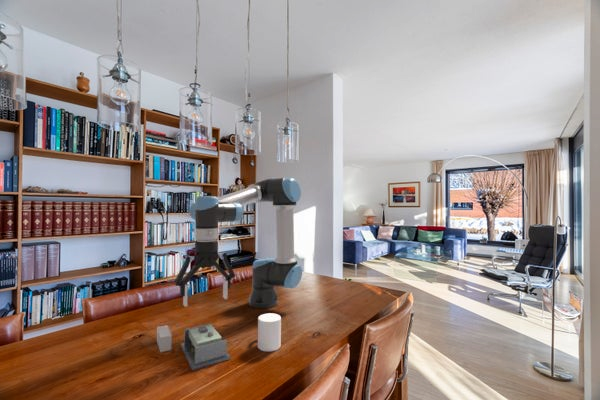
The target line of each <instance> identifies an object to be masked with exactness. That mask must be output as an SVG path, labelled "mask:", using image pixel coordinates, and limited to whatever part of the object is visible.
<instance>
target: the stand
mask: <svg viewBox="0 0 600 400" xmlns="http://www.w3.org/2000/svg"><path fill="white" fill-rule="evenodd" d="M172 337H173V336H172V332H171V331H170V328H169V326H168V324H166V325H161V326H157V327H156V344H157V345H158V349H159V351H160V353H163V352H167V351H171V350H172V342H173V341H172Z"/></svg>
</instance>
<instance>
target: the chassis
mask: <svg viewBox="0 0 600 400" xmlns="http://www.w3.org/2000/svg"><path fill="white" fill-rule="evenodd" d="M209 325H212V326H213V327H214V323H213V322H212V323H208V324H204V325H203V324H202V325H198V326H194V327H188V328H184V334H183V335H184V336H183V338H184V339H183V341H184V342H181V343H180V348H181V350H182V351H183V354H184V356H185V357H186V360H187V362H188V364H189V367H190V368H191V371H195V370H199V369H201V368H205V367H209V366H212V365H215V364H218V363H221V362H222V363H223V362H226V361H229V360H231V355H230V354H229V353H228V351H227V349H228V348H227V347H228V340H227V339H222V340H221V341H218V342H214V343H210V344H206V345H202V346H198V347H194V345H193V343H192V341H191V340H190V338H189V330H190V329H195V328H199V327H204V326H209Z"/></svg>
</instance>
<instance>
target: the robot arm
mask: <svg viewBox="0 0 600 400" xmlns="http://www.w3.org/2000/svg"><path fill="white" fill-rule="evenodd" d="M301 196H302V191H301V187H300V184H299V182H298V181H297V180H296V179H294V178H292V177H282V178H281V177H280V178H279V177H278V178H266V179H263V180H259V181H256V182H255V183H251V184H249V185H248V186H247V187H246V188H243V189H240V190H236V191H233V192H231V193H227V194H224V195H221V196H215V195H214V196H213V195H211V196H210V195H200V196H196V198H195V202H194V203H192V204H191V205H190V207H189V211H188V212H189V216H190V218H192V219H193V220H194V225H195V228H194V231H195V232H194V240H196V241H195V242H194V255H185V257H184V260H183V261H184V262H183V263H182V266H181V268H180V269H179V271H178V273H177V275H176V278H175V279H174V281H173V283H174V285H175V286H176V287H179V295H180V296H181V298H182V297H183V300H182V302H183V303H182V305H183V306H184V308H185V307H188V285H187V284H188V282H189V281H190V280H191V279H192V278H193V277H194V275H195V274H196V273H197V271H199V269H200V268H202V269H206V268H212V267H215V268H216V269H217V271H218V272H219V273H220V274H221V275H222V276H223V278H222V298H223V299H224V300H228V290H229V289H230V288H231V281H232V279H233V278H235V277H236V274H235V272H234V270H233V268H232V266H231V263H230V262H229V259H228V254H227V253H226V252H224V251H222V252H220V253H218V252H219V249H218V246H219V245H218V244H219V243H218V240H217V239H219V236H218V234H219V223H229V222H231V223H233V222H238V221H240V220H241V219H242V218H243V215H244V208H243V207H244V206H247V205H250V204H258V203H262V202H263V203H264V202H265V203H266V202H271V203H272V206H273V208H274V209H275V211H276V212H275V216H276V217H275V218H276V219H275V222H276V224H275V225H276V227H275V228H276V258H274V257H266V258H260V259H256V260H254V261H253V263H252V268H251V269H252V286H251V287H252V288H251V289H252V290H251V292H250V295H249V297H248V306H250V307H251V308H256V309H269V308H273V307H276V306H278V304H279V297H278V293H277V291H276V287H280V288H284V289H295V288H296V287H297V286H298V285H300V282H301V280H302V277H303V268H302V266H301V265H300V264H298V258H296V257H295V234H294V233H295V231H294V227H295V226H294V218H295V217H294V208H295V207H296V206H297V202H299V200H300V199H301ZM218 259H221V260H222V263H223V264H224V266H225V269H226V270H227V272H226V271H225V270H224V269H223V267H222V266H221V265H220V264H219V263H218V262H217V261H218ZM192 261H194V262H195V263H194V265H193V266H192V268H191V269H190V270H189V271H188V272H187V270H188V268H189V265H190V263H192ZM186 272H187V274H186ZM185 274H186V275H185Z"/></svg>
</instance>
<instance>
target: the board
mask: <svg viewBox="0 0 600 400" xmlns="http://www.w3.org/2000/svg"><path fill="white" fill-rule="evenodd" d="M189 338H190V340H191V341H192V343H193V345H194V347H198V346H202V345H206V344H210V343H214V342H218V341H221V340H223V337H222V336H221V334H220V333H219V332H218V331H217V330H216V329H215V327H214V325H213V326H212V325H209V326H204V327H199V328H195V329H190V330H189Z"/></svg>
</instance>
